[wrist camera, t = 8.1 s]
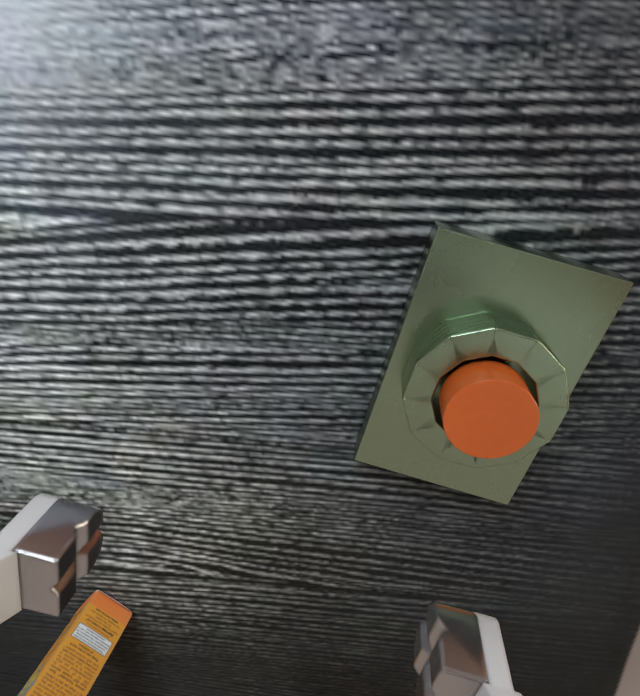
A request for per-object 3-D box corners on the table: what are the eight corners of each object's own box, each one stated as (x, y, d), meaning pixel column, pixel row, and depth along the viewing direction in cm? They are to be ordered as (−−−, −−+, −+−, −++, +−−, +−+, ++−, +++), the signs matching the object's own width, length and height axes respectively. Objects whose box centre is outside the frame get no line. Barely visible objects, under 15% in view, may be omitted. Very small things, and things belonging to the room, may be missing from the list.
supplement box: (94, 584, 33) (-16, 752, 24) (135, 610, 34) (42, 784, 25) (74, 606, 35) (-38, 773, 26) (114, 631, 35) (18, 803, 26)
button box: (434, 219, 20) (442, 235, 17) (616, 271, 20) (658, 297, 17) (356, 440, 26) (351, 484, 22) (500, 483, 25) (516, 532, 22)
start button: (457, 349, 19) (463, 368, 18) (542, 374, 19) (556, 395, 18) (426, 420, 21) (429, 444, 19) (506, 443, 21) (515, 469, 19)
